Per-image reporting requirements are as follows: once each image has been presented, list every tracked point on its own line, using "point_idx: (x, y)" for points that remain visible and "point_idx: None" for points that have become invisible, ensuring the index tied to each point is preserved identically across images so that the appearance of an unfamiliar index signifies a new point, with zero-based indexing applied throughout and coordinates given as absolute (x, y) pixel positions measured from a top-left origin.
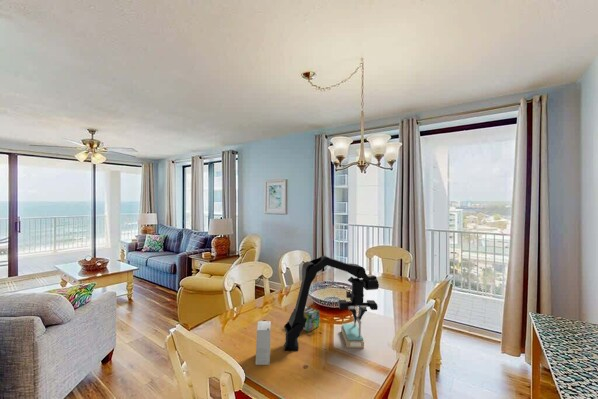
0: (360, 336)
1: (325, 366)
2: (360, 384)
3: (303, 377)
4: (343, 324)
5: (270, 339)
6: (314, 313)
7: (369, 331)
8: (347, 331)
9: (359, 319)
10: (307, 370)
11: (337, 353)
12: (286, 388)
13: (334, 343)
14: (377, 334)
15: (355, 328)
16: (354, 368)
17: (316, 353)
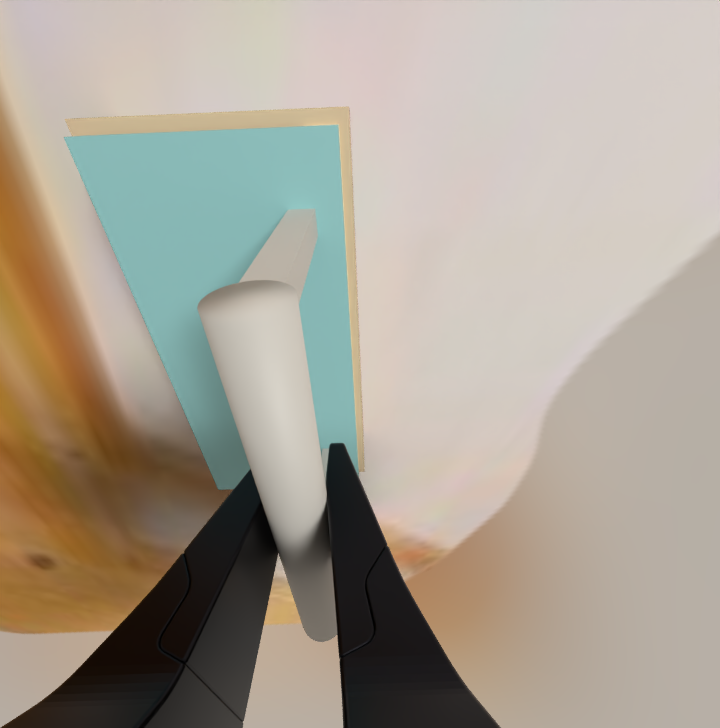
0: None
1: (137, 557)
2: (295, 605)
3: (70, 597)
4: (93, 170)
5: None
6: None
7: (551, 92)
8: (198, 385)
9: (327, 600)
10: (65, 575)
11: (174, 485)
12: (41, 624)
13: (120, 391)
14: (612, 188)
15: (306, 306)
16: (277, 559)
17: (40, 492)
